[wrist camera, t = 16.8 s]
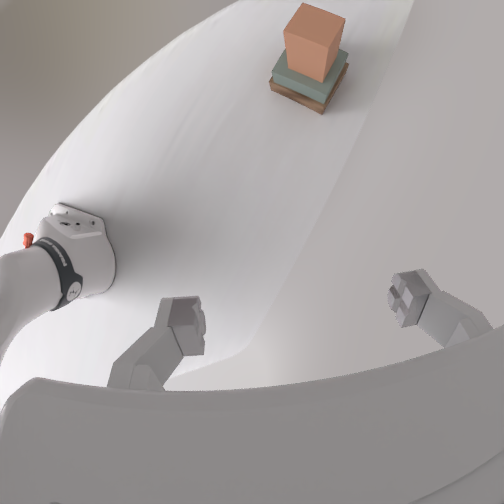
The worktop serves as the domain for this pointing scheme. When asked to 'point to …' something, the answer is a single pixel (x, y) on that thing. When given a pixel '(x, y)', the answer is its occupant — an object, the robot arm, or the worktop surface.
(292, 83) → the tower top
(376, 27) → the worktop surface
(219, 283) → the worktop surface
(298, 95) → the tower base
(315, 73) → the pillar
